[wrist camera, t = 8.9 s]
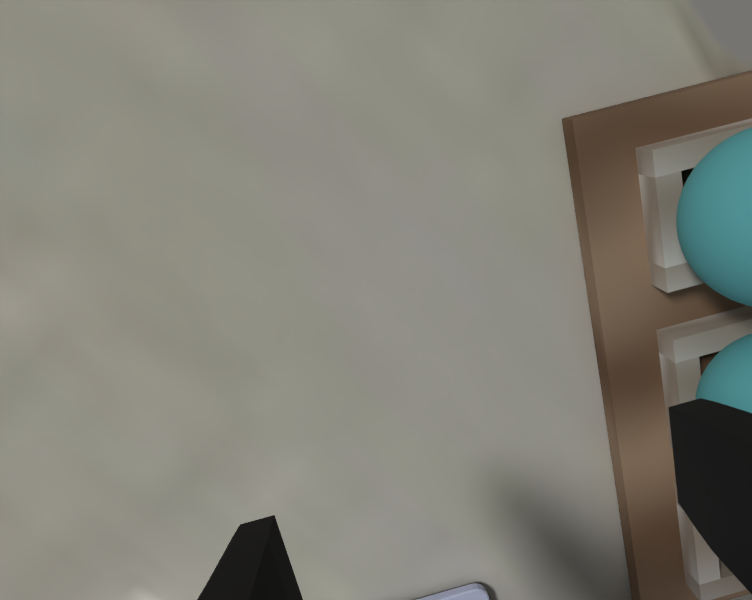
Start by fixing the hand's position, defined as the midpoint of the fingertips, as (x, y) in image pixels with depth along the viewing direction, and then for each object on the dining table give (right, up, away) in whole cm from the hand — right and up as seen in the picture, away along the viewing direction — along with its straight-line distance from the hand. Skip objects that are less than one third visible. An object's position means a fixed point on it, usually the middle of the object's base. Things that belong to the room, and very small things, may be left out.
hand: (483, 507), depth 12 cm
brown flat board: (+11, +2, +12) cm, 16 cm away
